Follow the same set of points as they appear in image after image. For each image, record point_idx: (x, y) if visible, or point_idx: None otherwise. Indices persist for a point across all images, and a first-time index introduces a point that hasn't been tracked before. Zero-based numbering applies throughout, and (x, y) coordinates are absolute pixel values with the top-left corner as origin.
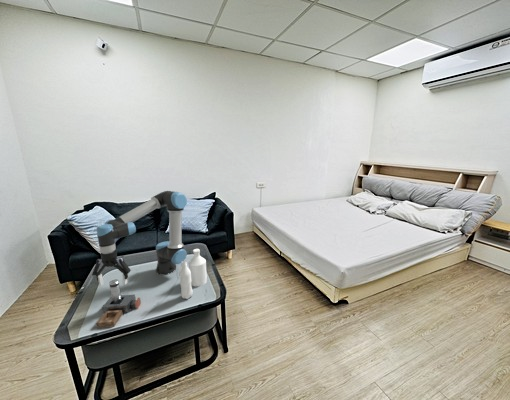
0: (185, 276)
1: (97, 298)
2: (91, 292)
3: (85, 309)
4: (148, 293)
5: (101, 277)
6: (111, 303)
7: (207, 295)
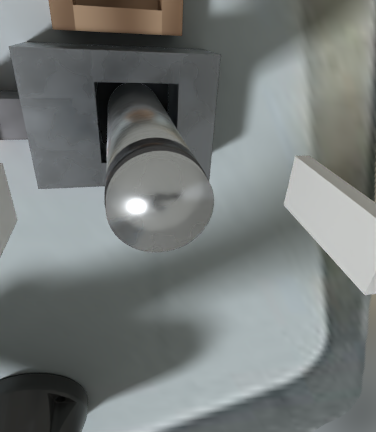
0: None
1: None
2: None
3: (327, 117)
4: None
5: (341, 243)
6: (175, 109)
7: None
